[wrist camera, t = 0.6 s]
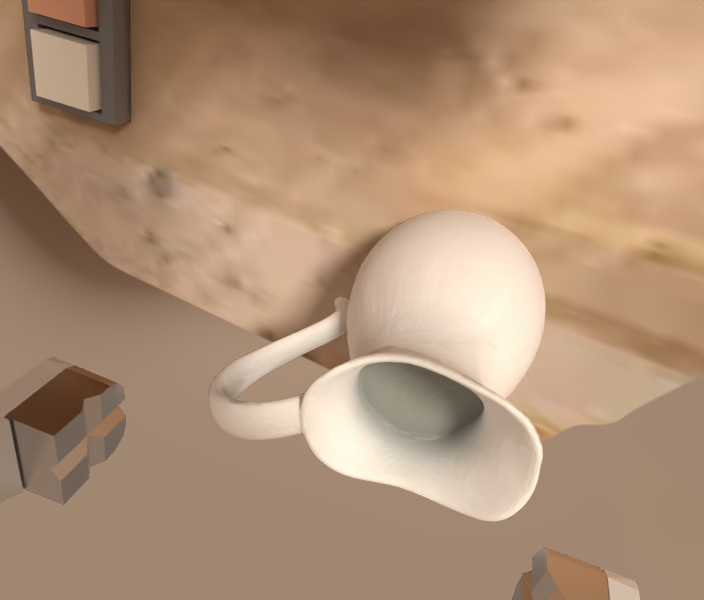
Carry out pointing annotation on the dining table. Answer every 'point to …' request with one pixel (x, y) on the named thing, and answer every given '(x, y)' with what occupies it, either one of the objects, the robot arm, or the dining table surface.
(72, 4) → the key terracotta
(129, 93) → the keypad
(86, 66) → the key offwhite
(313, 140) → the dining table surface
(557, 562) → the robot arm
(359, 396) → the pitcher
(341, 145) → the dining table surface
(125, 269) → the dining table surface
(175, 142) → the dining table surface
